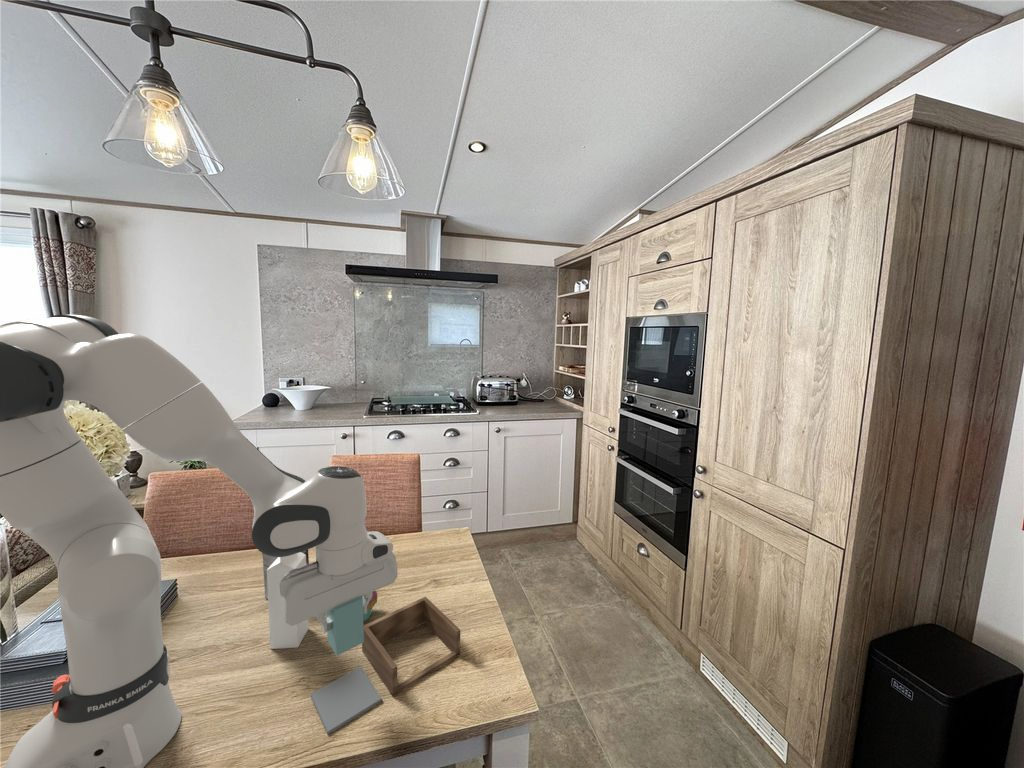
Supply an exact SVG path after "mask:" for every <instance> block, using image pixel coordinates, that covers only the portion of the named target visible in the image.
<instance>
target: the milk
mask: <svg viewBox="0 0 1024 768" xmlns="http://www.w3.org/2000/svg"><path fill="white" fill-rule="evenodd" d="M305 565H306V555H305V554H304V553H301V552H299V553H296V554H293V555H290V556H286V557H278V558H277V559H276V560H275V561H274V562H273V563H272V565H271V566H270V567H269V568H268V569H267V588H268V599H267V605H268V608H267V609H268V625H269V626H268V627H269V645H270V646H269V648H270V649H271V650H273V649H277V650H278V649H279V650H280V649H292V648H293V649H294V648H295V649H296V648H299V646H300V644H301V643H302V641H303V639H304V638H305V635H307V632H308V631H309V627H310V625H309V619H308V620H305V621H303V622H301V623H298V624H296V625H294V626H290V625H288V624H287V623H286V622H285V621H284V618H283V616H282V598H283V596H281V594H280V581H281V580H282V578H283V577H284V576H285V575H287V574H289V571H291V570H293V569H296V568H297V569H298V568H301V567H304V566H305ZM288 577H289V576H288Z"/></svg>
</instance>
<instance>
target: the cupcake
mask: <svg viewBox="0 0 1024 768" xmlns="http://www.w3.org/2000/svg"><path fill="white" fill-rule="evenodd" d="M361 597H363V596H361ZM377 602H378V592H377V590H375V591H373V592H372V598H371V600H370V602H369V604H368V606H367V614H364V615H363V622H365V621H367V620H369V618H370V616H371V613H372V611H373V608H374V606H375V605H376V604H377Z"/></svg>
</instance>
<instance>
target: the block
mask: <svg viewBox="0 0 1024 768" xmlns="http://www.w3.org/2000/svg"><path fill="white" fill-rule="evenodd" d="M327 617H330V619H331V620H332V624H333V625H332V627H333V629H332V630H330V631H328V632H326V633H327V634H326V636H327V637H326V638H327V642H328V644H329V645H330V647H331V649H332V650H333V652H334V654H335V656H336V657H338V656H339V655H341V654H344V653H346V652H348V651H350V650H351V649H354V648H357V646H359V645H360V646H361V645H362V643H363V642H364V629H363V626H364V621H363V598H362V597H361V596H360V597H358V598H356V599H353V600H351V601H349V602H347V603H344V604H342V605H340V606H337V607H335V608H333V609H331V610H329V611H326V618H327Z"/></svg>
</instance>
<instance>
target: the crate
mask: <svg viewBox="0 0 1024 768" xmlns="http://www.w3.org/2000/svg"><path fill="white" fill-rule="evenodd" d="M423 624H425V626H426V627H428V629H429V630H430V631H431V632H432V633H433V634H434V635H435V636H436V637H437V638H438V639H439V640H440V642H442V644H444V646H445V647H446V648H447V649H448V650H449V651H450V653H449V654H447V655H445V656H443V657H441V658H440V659H438V660H437V661H435V662H434V663H432V664H430V665H428V666H427V667H425V668H424V669H422V670H421V671H419V672H417V673H415V674H413V676H411V677H409V678H407V679H405V680H404V681H403V682H401V683H399V684H398V665H397V663H396V662H395V661H394V659H393V658H392V657H391V656H390V655H389V653H388V652H387V650H386V649H385V648H384V646H383V645H385V644H386V643H388V642H390V641H392V640H394V639H396V638H398V637H400V636H401V635H403V634H406V633H407V632H409V631H411V630H413V629H414V628H417V627H419V626H420V625H423ZM363 629H364V642H363V643H362V644H361V651H362V653H363V655H364V656H365V658H366V659H367V660H368V662H369V664H370V665H371V667H372V668H373V670H374V671H375V673H376V674H377V676H378V677H379V679H380V680H381V682H382V683H383V685H384V686H385V688H386V689H387V690H388V692H389V694H390V695H391V697H395V696H396V695H398V694H399V693H401V692H403V691H404V690H406V689H407V688H410V686H413V685H414V684H416V683H418V682H419V681H421V680H422V679H424V678H425V677H426V676H429V675H430V674H431V673H433V672H435V671H436V670H438V669H440V668H442V667H443V666H444V665H446V664H447V663H450V661H452V660H454V659H456V658H457V657H459V656H460V655H461V629H460V628H459V626H457V625H456V624H455V623H454V622H453V621H452V620H451V619H450V618H449V617H448V616H447V615H446V614H444V612H443V611H441V610H440V609H439V608H438V607H437V606H436V605H435V604H434V603H433V602H432V601H431V600H430V599H429V598H427V596H423V597H421V598H419V599H417V600H415V601H413V602H411V603H409V604H407V605H404V606H403V607H401V608H398V609H395V610H394V611H392V612H389V613H388V614H385V615H384V616H382V617H379V618H377V619H375V620H373V621H371V622H368V623H367V624H363Z"/></svg>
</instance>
